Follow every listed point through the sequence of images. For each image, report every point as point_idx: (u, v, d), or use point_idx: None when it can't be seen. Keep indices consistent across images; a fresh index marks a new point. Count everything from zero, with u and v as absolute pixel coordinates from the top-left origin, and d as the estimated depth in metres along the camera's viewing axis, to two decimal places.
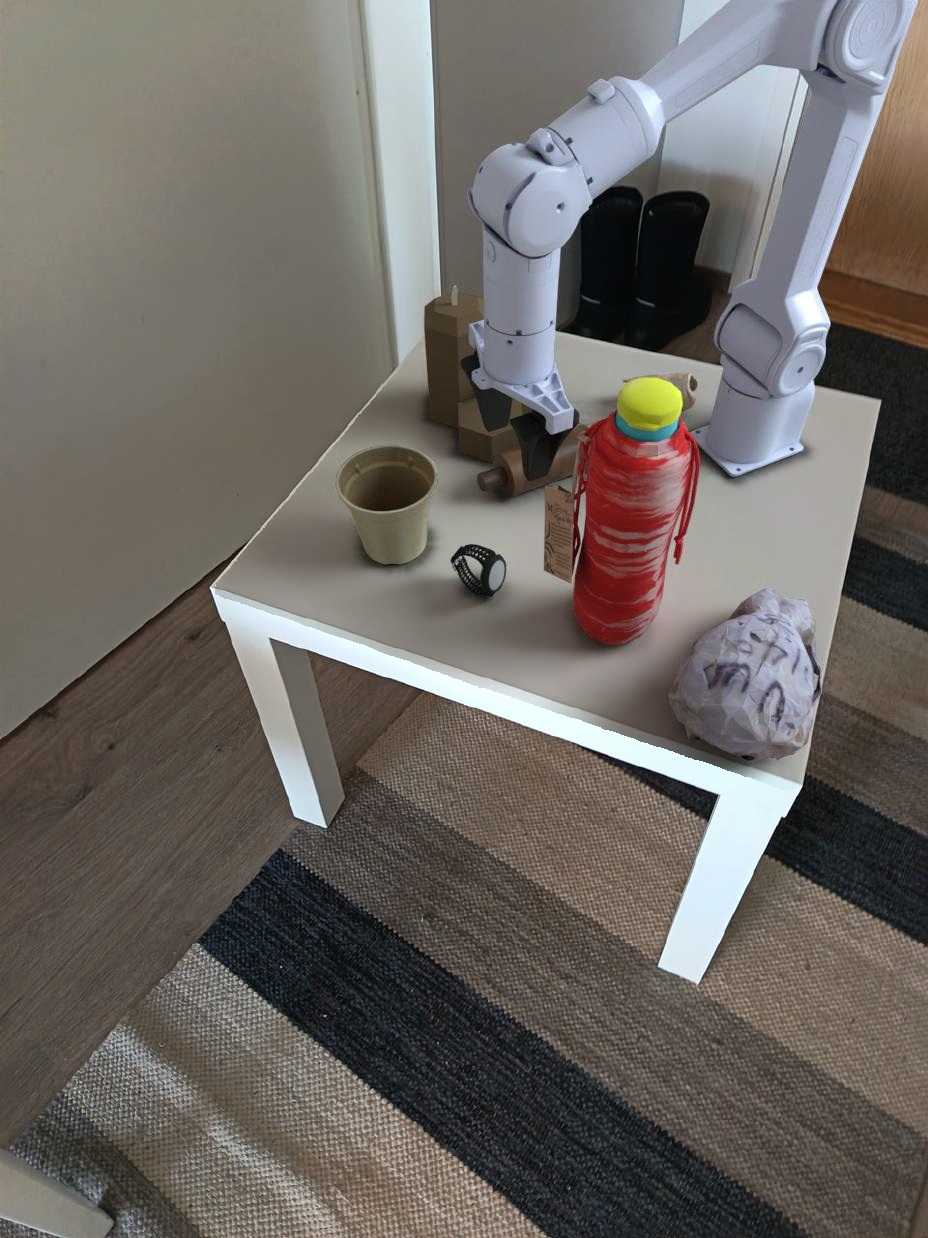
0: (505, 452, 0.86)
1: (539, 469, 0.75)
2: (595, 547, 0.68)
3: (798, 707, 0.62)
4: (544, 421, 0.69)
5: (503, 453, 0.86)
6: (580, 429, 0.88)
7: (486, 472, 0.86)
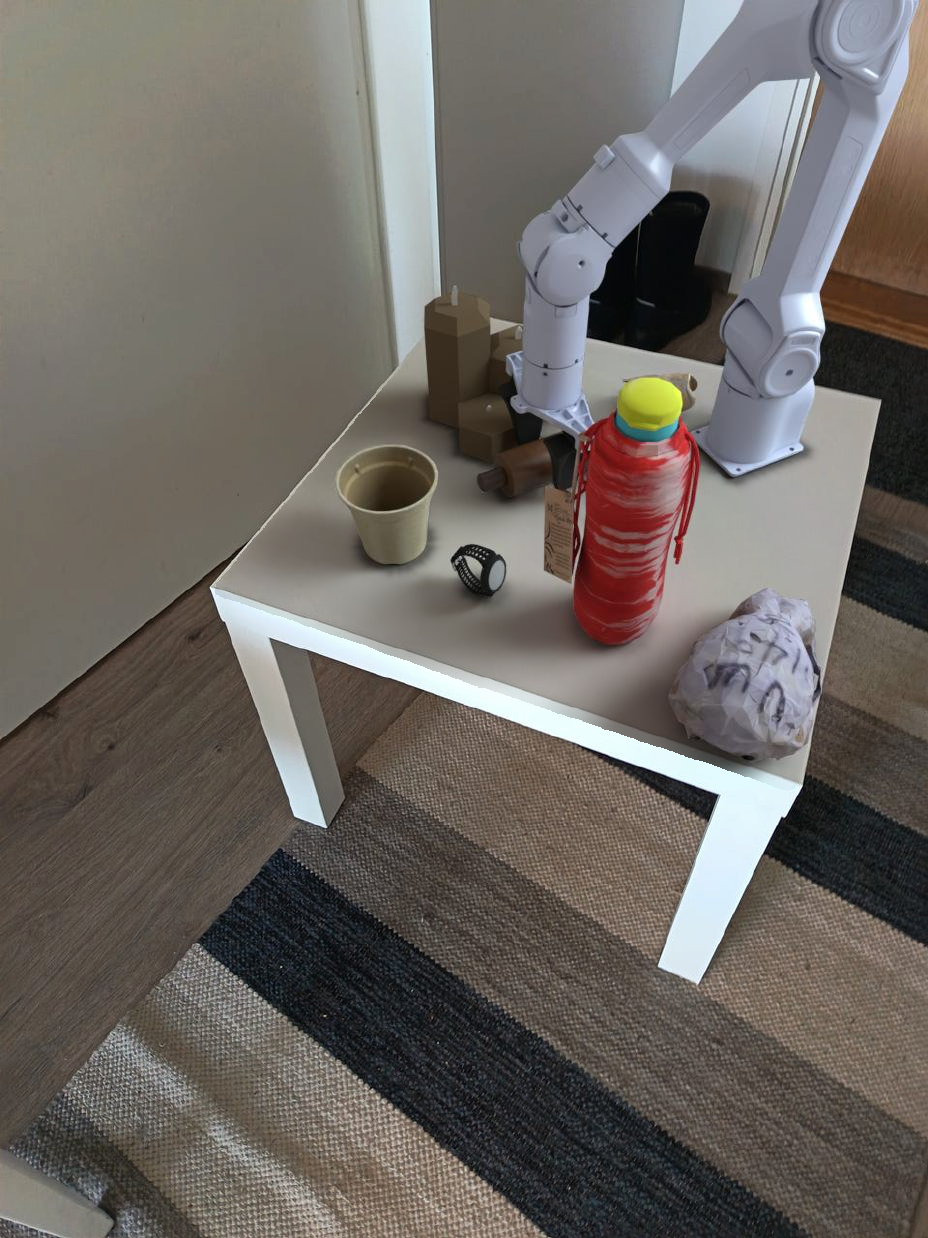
0: (505, 452, 0.86)
1: (567, 481, 0.86)
2: (595, 547, 0.68)
3: (798, 707, 0.62)
4: (573, 441, 0.80)
5: (503, 453, 0.86)
6: None
7: (486, 472, 0.86)
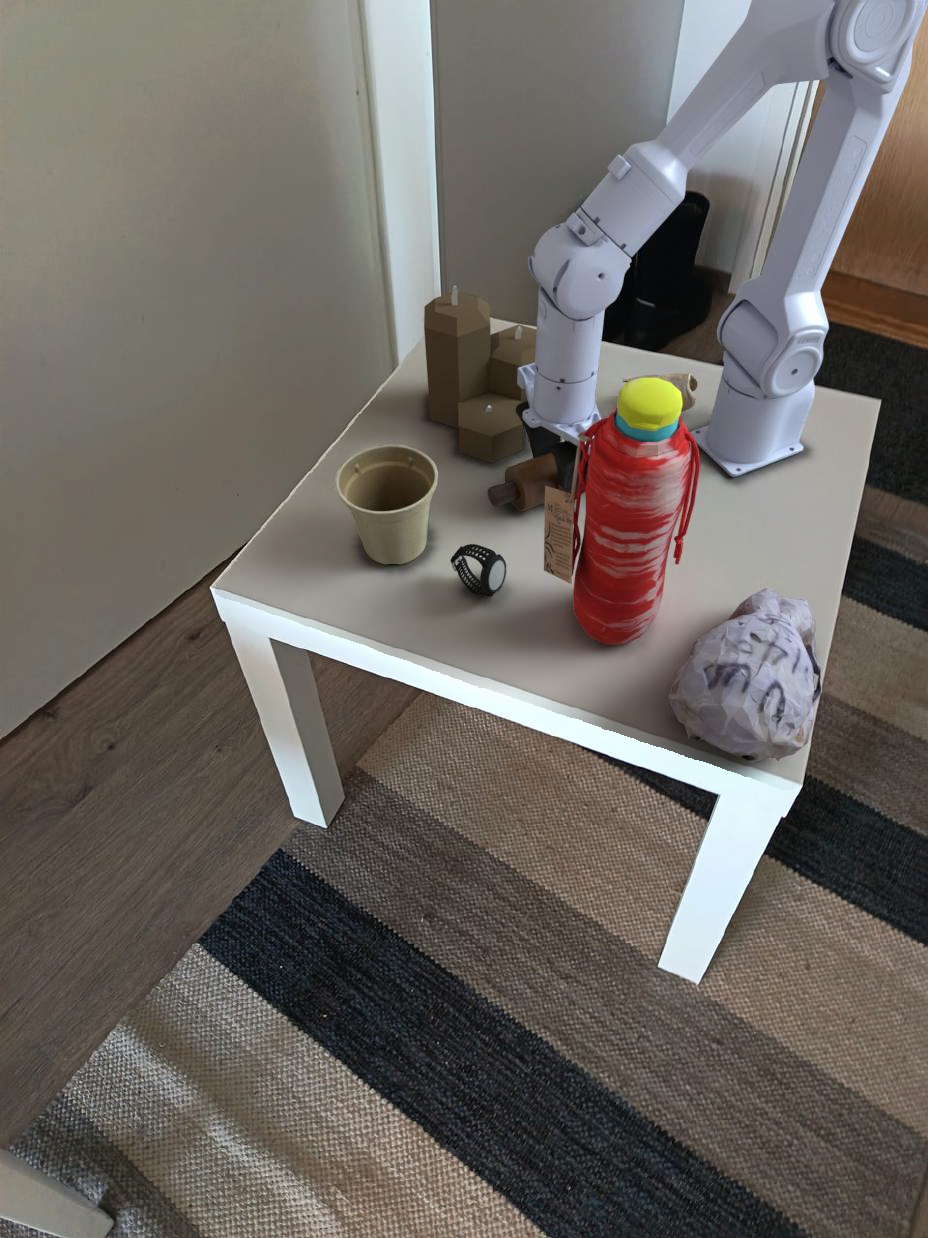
0: (516, 466, 0.85)
1: None
2: (595, 547, 0.68)
3: (798, 707, 0.62)
4: None
5: (514, 467, 0.85)
6: None
7: (497, 486, 0.85)
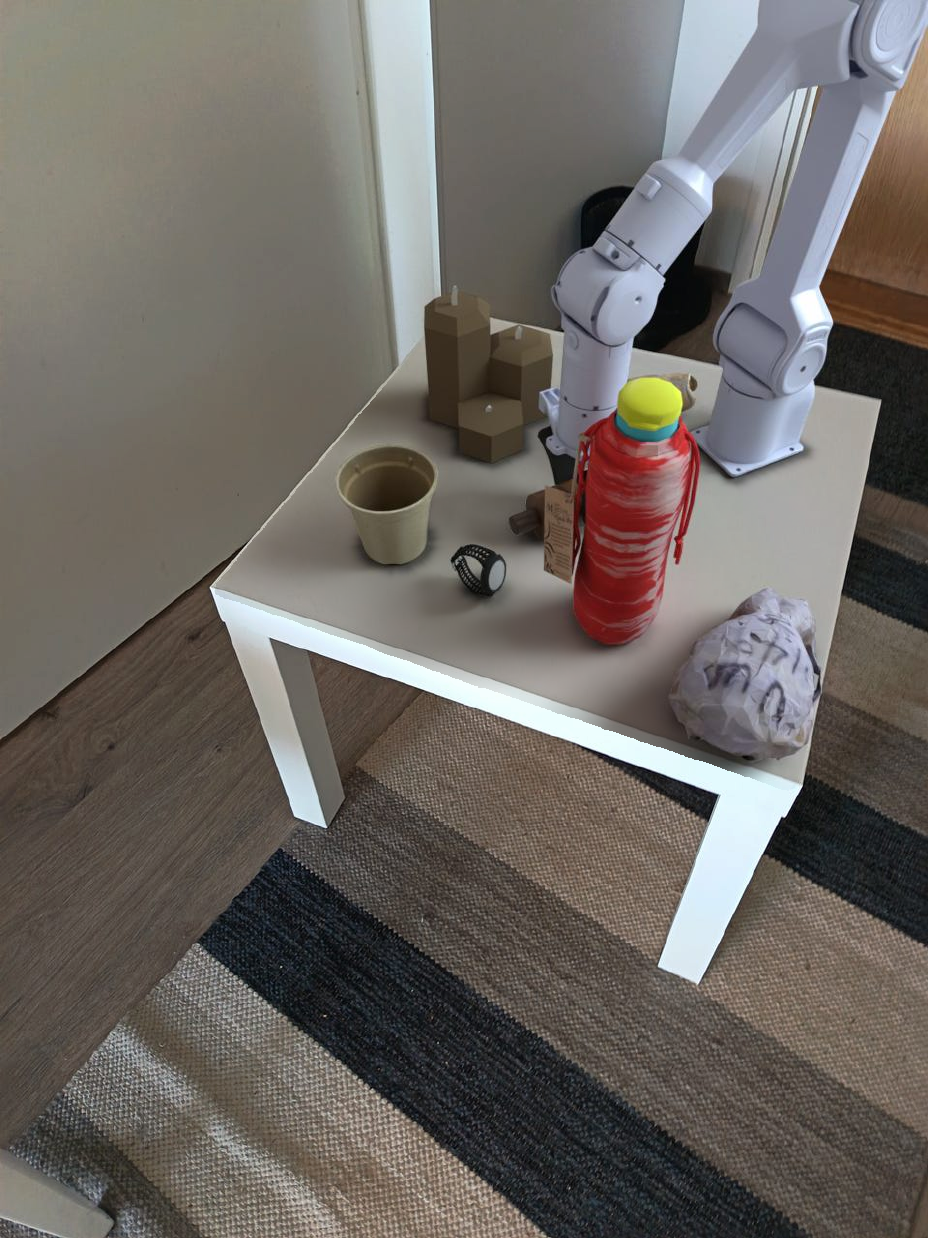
0: (539, 493, 0.83)
1: None
2: (595, 547, 0.68)
3: (798, 707, 0.62)
4: None
5: (536, 494, 0.82)
6: None
7: (519, 514, 0.82)
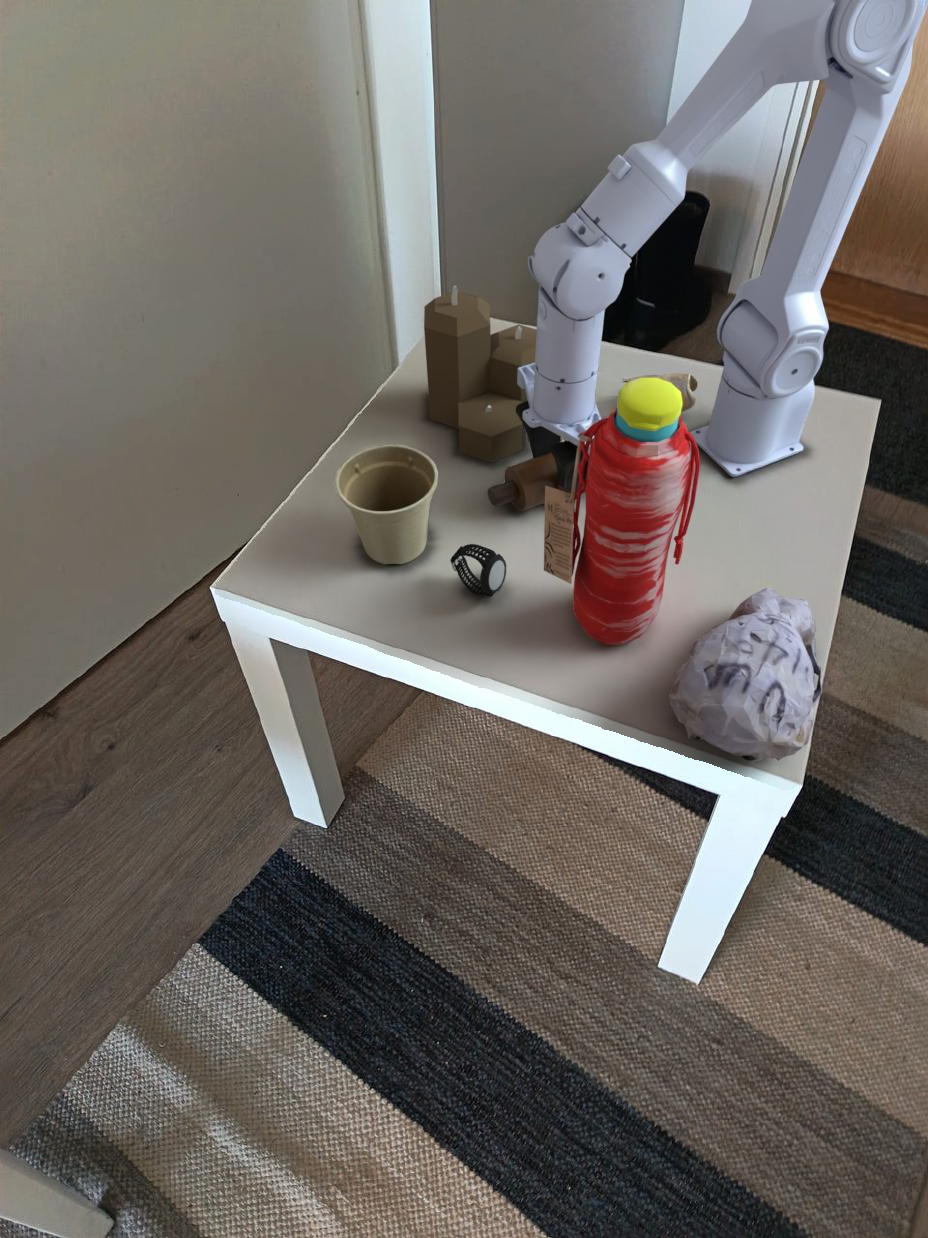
0: (516, 466, 0.85)
1: None
2: (595, 547, 0.68)
3: (798, 707, 0.62)
4: None
5: (514, 467, 0.85)
6: None
7: (497, 486, 0.85)
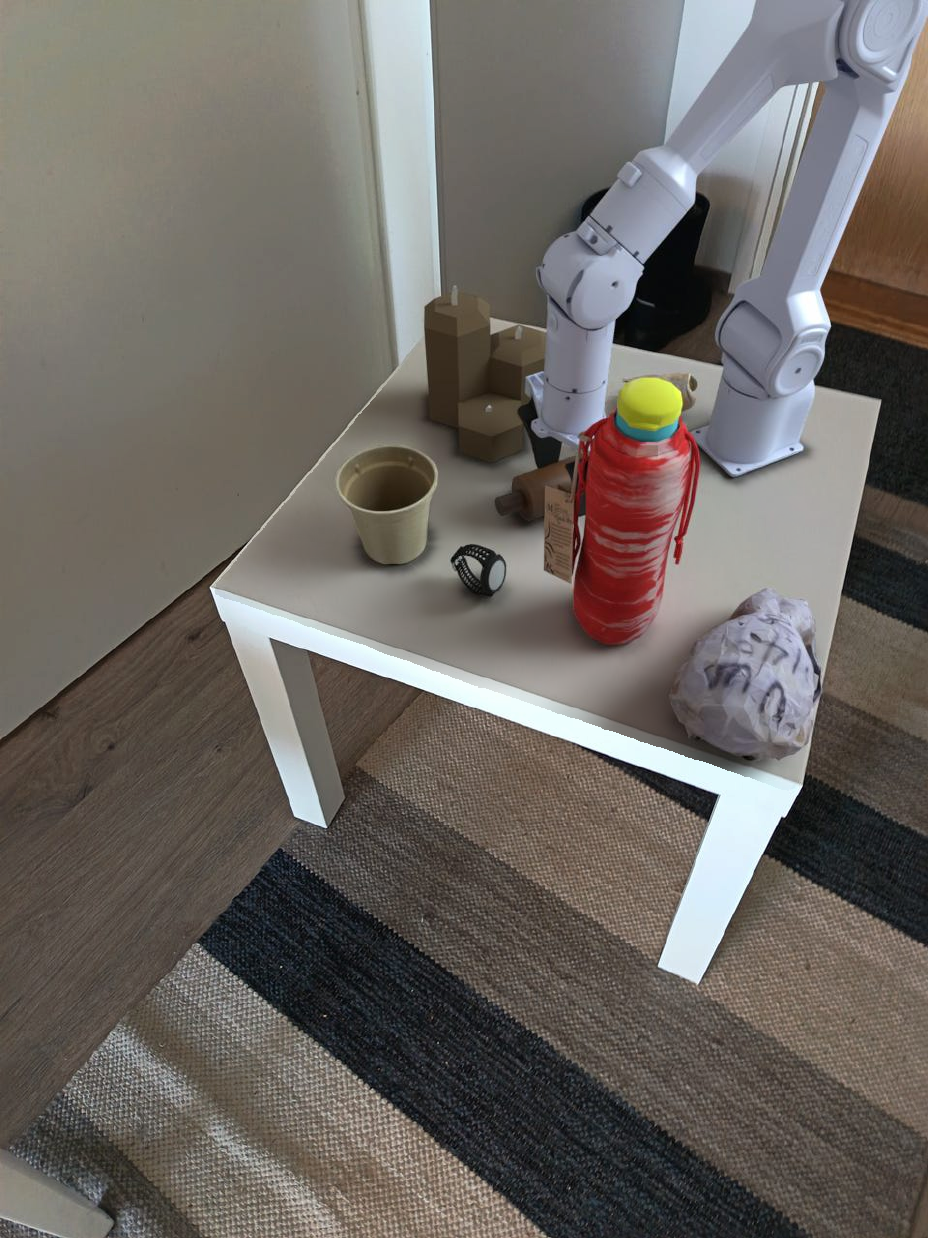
0: (523, 475, 0.84)
1: None
2: (595, 547, 0.68)
3: (798, 707, 0.62)
4: None
5: (521, 476, 0.84)
6: None
7: (504, 496, 0.84)
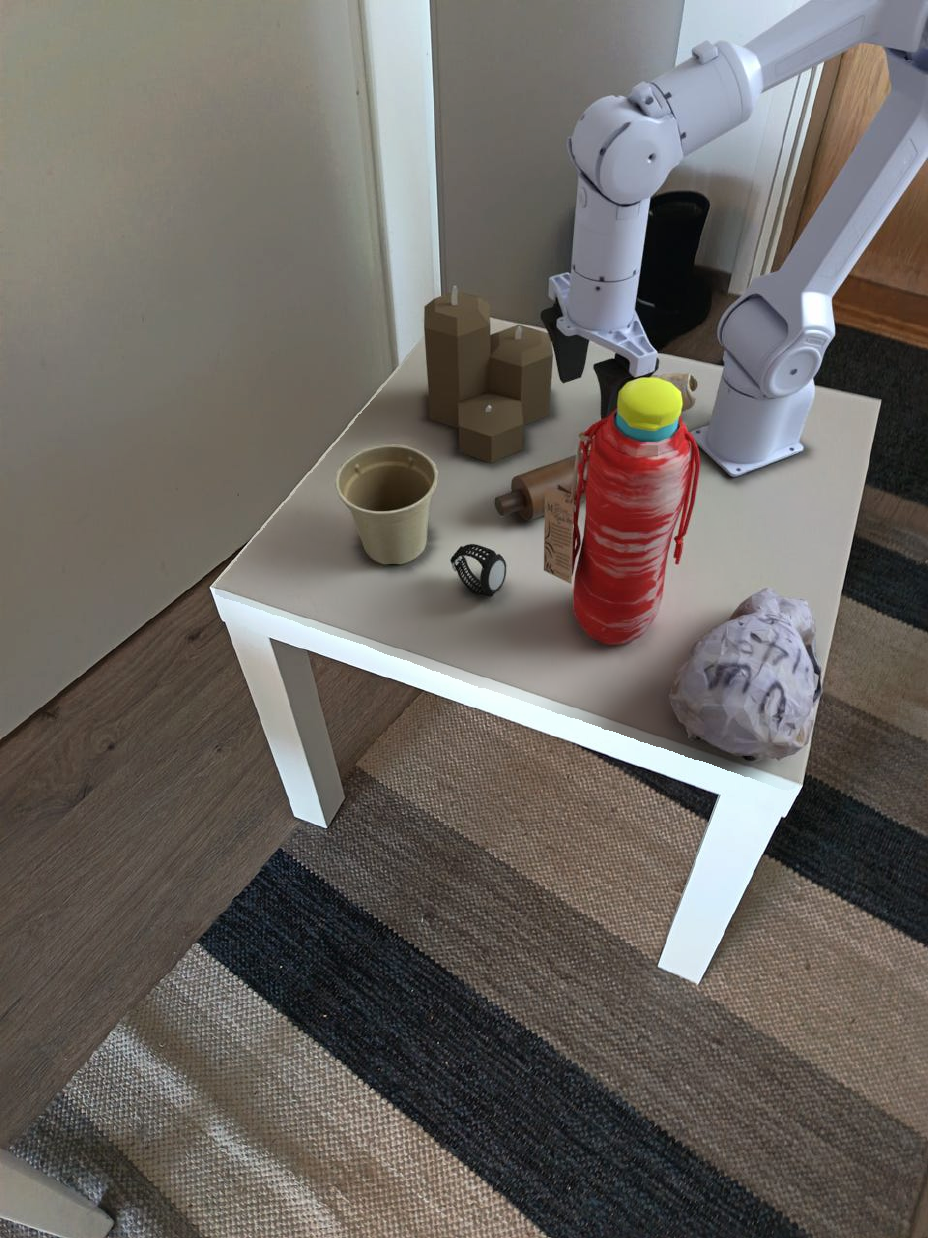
0: (523, 474, 0.84)
1: None
2: (595, 547, 0.68)
3: (799, 707, 0.62)
4: (627, 365, 0.72)
5: (521, 475, 0.84)
6: None
7: (504, 495, 0.84)
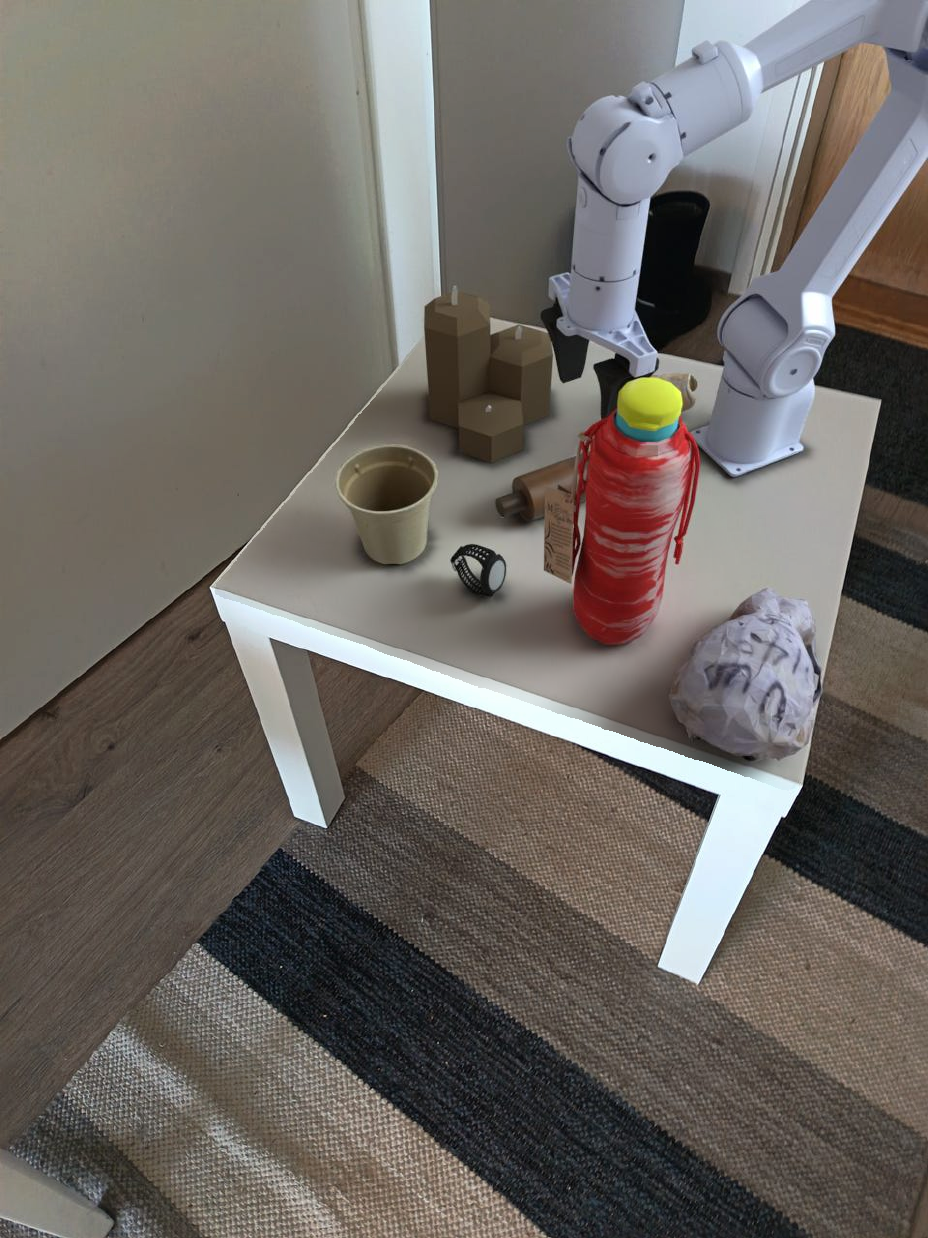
0: (524, 476, 0.84)
1: None
2: (595, 547, 0.68)
3: (799, 707, 0.62)
4: (627, 365, 0.72)
5: (522, 477, 0.84)
6: None
7: (505, 496, 0.84)
